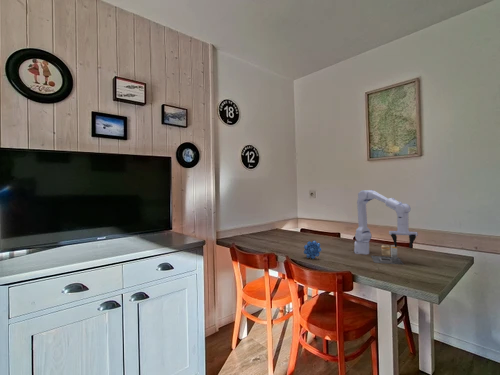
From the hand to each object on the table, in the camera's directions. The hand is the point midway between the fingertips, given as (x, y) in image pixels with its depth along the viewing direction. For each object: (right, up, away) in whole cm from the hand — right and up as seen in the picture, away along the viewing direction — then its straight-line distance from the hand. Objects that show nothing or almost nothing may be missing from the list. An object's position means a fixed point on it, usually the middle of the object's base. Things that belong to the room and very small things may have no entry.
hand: (403, 247), depth 155 cm
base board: (-6, -10, +7) cm, 14 cm away
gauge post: (0, -9, +10) cm, 14 cm away
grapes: (-49, -11, +17) cm, 53 cm away
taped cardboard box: (-8, -5, +5) cm, 11 cm away
